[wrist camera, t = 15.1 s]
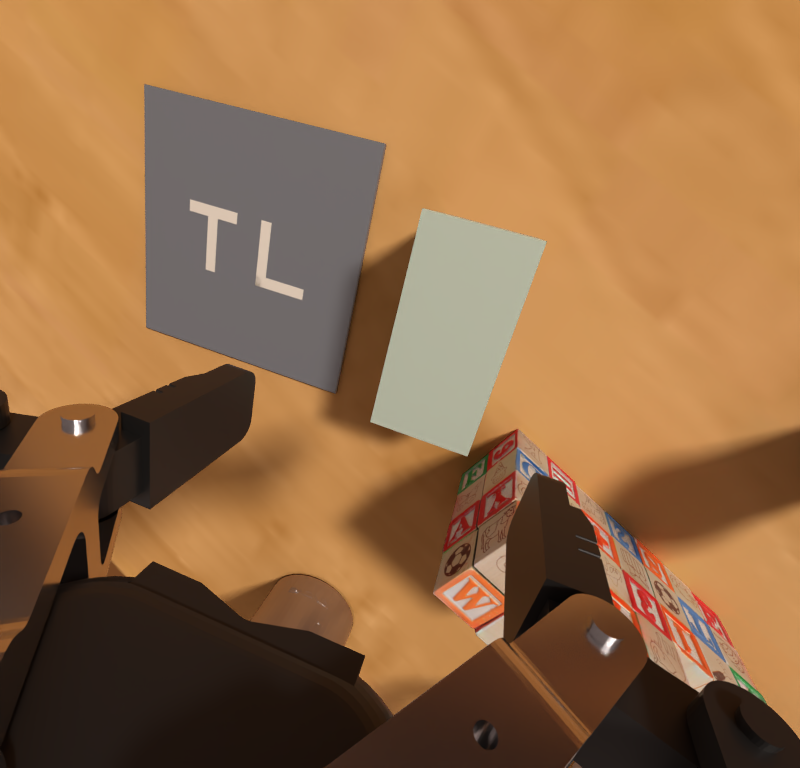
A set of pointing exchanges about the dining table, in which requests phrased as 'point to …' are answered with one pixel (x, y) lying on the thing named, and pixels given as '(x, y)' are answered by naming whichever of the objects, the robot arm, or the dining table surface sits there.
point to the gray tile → (255, 233)
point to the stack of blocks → (620, 552)
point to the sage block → (453, 327)
